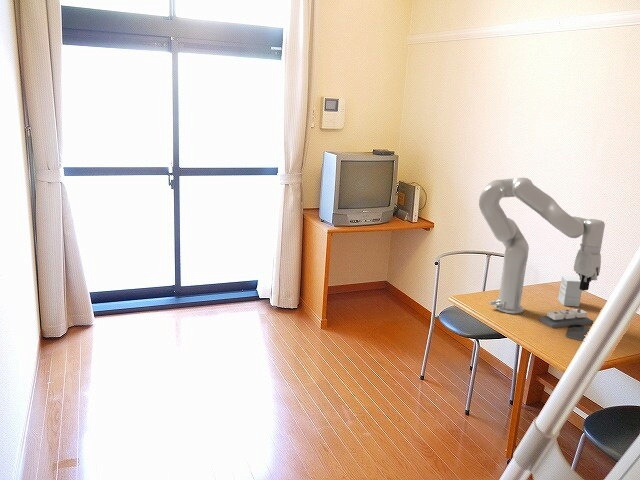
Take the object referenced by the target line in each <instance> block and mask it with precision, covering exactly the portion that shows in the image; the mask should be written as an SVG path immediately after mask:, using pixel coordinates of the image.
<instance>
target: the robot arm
mask: <svg viewBox="0 0 640 480" xmlns="http://www.w3.org/2000/svg"><path fill="white" fill-rule="evenodd" d="M503 198H516V199H518V200H519V201H520V202H521V203H523V204H524V205H526V206H527V207H529V208H530V209H531V210H532V211H534V212H536V213H537V214H538V215H539V216H540V217H541V218H543V219H544V220H545V221H547V223H549V224H550V225H551V226H552V227H554V228H555V229H556V230H558V231H559V232H561V233H562V234H563V235H565V236H566V237H567V238H570V239H577V238H581V243H580V245H579V246H580V249H578V251H577V253H576V257H575V260H574V265H573V271H574V272H575V274H577V276H579V277H578V278H579V279H580V280H581V282H580V288H579V289H580V290H582V292H583V291H589V289H590V283H591V282H592V281H597V280H598V277H599V276H600V273H601V264H602V263H601V262H602V254H601V251H602V245H603V239H604V232H605V226H606V223H605V222H604V221H603V220H602V219H601V220H600V219H596V218H595V219H593V218H583V217H580V216H572V215H571V214H569V213H568V212H567V211H565V210H564V209H563V208H562V207H561V206H560V205H559V204H558V203H557V201H556V200H555V199H554V198H553V197H551V196H550V195H549V194H547V193H546V192H545V191H543V190H541V188H539V187H537V186H536V185H535V184H534V183H533V181H532V180H531V179H530V178H527V177H515V178H514V177H513V178H504V179H501V178H500V179H495V180H492V181H490V182H489V183H488V184H487V185H486V186H485V187H484V188H483V189H482V192H481V194H480V195H479V199H478V207H479V210H480V213H481V214H482V217H483V219H484V220H485V221H486V223H487V225H488V227H489V229H490V230H491V232H492V234H493V236H494V237H495V239H496V240H497V241H499V242H501V243H502V244H503V246H504V247H505V251H504V256H503V263H502V264H503V266H502V271H501V281H500V286H499V287H500V288H499V293H498V297H496V299H495V300H489V301H488V305H490V306H494V308H495V309H496V310H497V311H500V312H502V313H507V314H511V315H512V314H516V315H517V314H521V313H523V312H524V307H523V306H522V305H521V302H522V298H523V297H522V296H523V290H524V282H525V277H526V276H525V275H526V270H527V265H528V263H527V262H528V258H529V252H530V251H529V250H530V247H529V244H528V241H527V239H526V238H525V236H524V234H523V233H522V231H521V230H520V228H519V226H518V225H517V223H516V222H515V221H514V220H513V219H512V218H510V217H508V216H507V215H506V212H505V211H504V210H503V208H502V206H501V205H500V201H501V200H502V199H503Z"/></svg>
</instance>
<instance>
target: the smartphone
mask: <svg viewBox="0 0 640 480" xmlns="http://www.w3.org/2000/svg"><path fill="white" fill-rule="evenodd" d="M588 330H589V331H590V327H589V326H586V325H578V324H577V325H570V326H568V329H567V331H566V333H565V337H566V338H567V339H568V338H569V339H573V340H577V341H581V342H584V341H583V339H584V338H585V336H584V335H586V334H587V332H588V333H589V331H588ZM587 335H588V334H587Z"/></svg>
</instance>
